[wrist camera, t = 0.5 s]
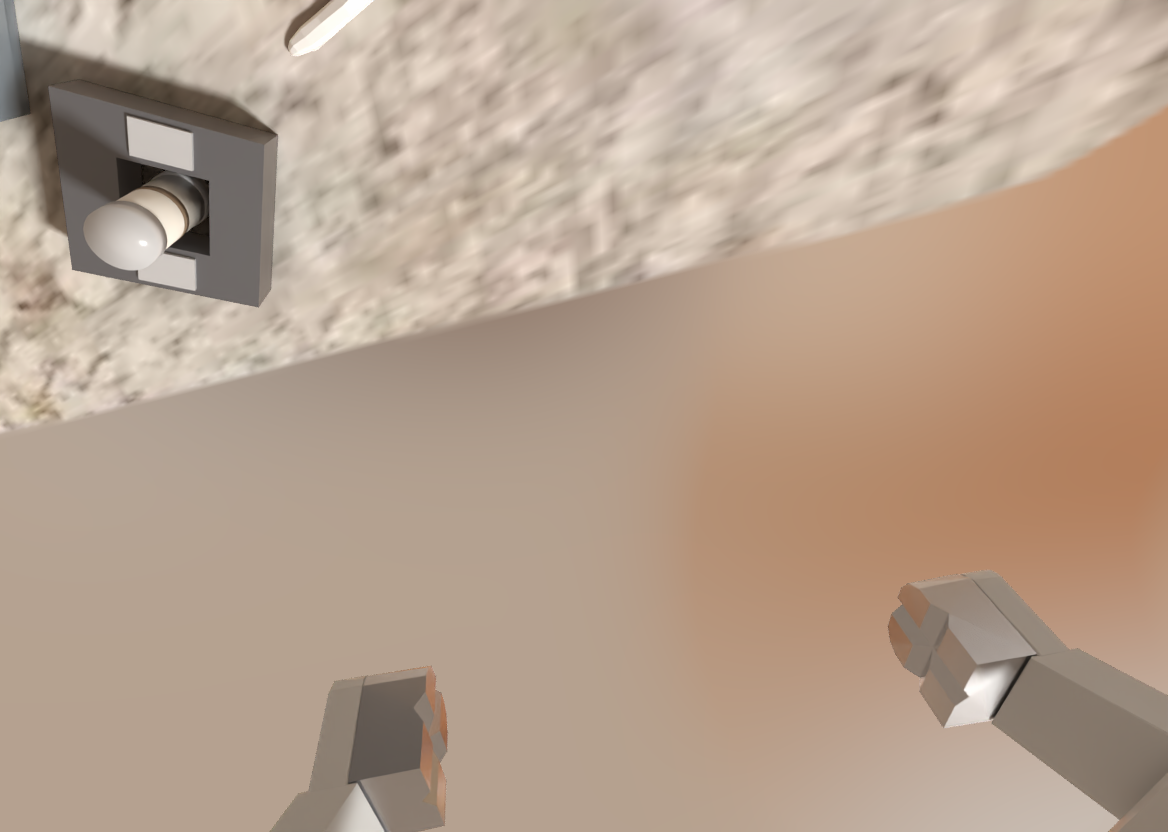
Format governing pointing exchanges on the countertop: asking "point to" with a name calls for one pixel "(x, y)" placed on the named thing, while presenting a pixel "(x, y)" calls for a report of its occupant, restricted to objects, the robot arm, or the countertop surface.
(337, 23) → the thin white wavy stick
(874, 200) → the countertop surface
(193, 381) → the countertop surface
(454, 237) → the countertop surface
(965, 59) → the countertop surface
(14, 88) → the parts tray
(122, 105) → the block
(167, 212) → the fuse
